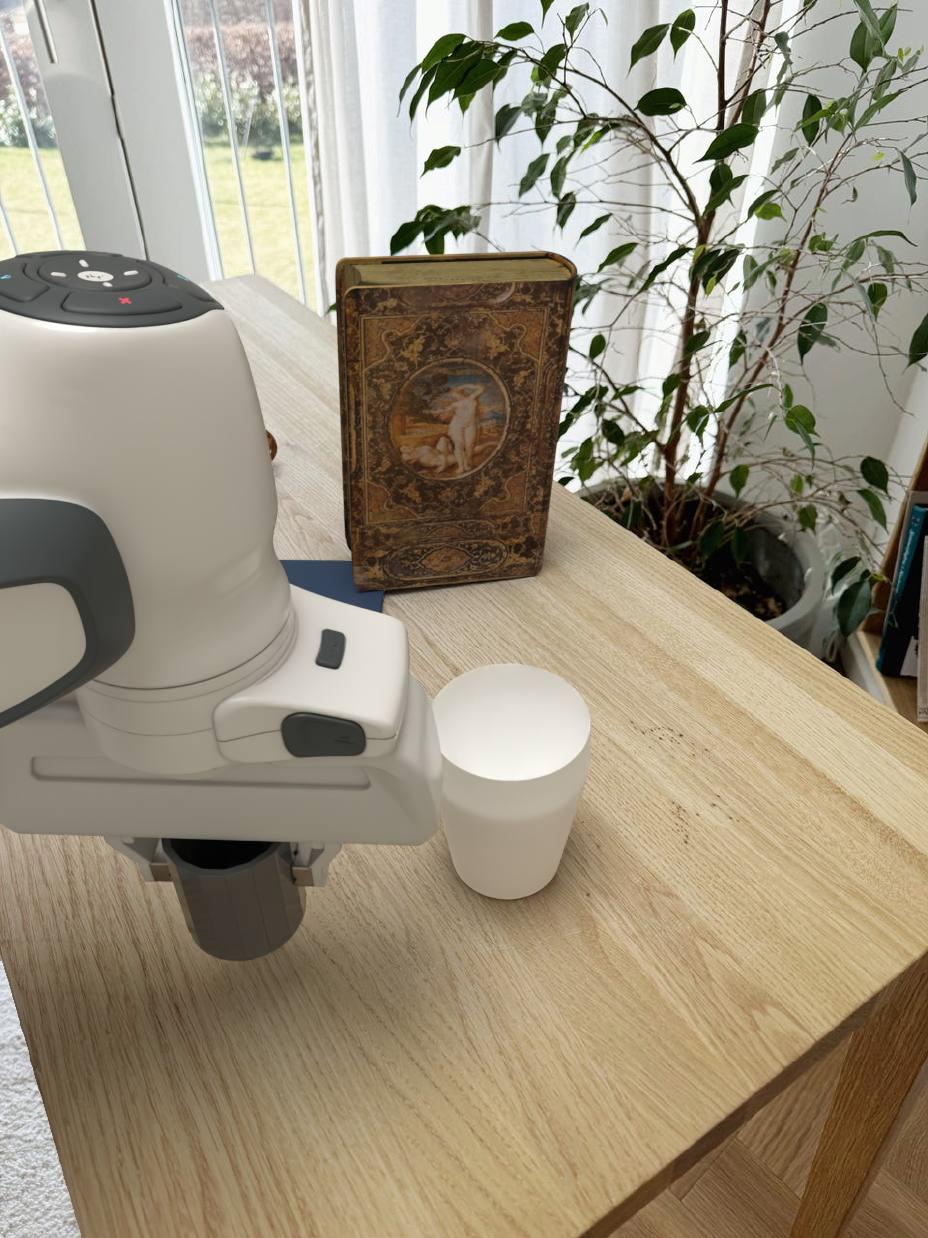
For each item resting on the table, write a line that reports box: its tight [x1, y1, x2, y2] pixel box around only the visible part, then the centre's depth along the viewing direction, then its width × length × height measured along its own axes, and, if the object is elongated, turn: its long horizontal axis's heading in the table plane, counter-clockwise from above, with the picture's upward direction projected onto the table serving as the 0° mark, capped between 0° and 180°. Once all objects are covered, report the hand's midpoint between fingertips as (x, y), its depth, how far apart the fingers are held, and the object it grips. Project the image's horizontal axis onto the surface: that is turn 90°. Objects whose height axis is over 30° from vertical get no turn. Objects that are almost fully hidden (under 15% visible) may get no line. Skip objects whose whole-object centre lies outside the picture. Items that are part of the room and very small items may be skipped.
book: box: [334, 250, 578, 591], centre depth 74 cm, size 16×6×25 cm, turn 102°
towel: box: [279, 559, 386, 613], centre depth 78 cm, size 22×10×1 cm, turn 88°
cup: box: [431, 663, 591, 900], centre depth 56 cm, size 9×9×12 cm
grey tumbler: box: [161, 838, 307, 962], centre depth 48 cm, size 6×6×7 cm
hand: (240, 873), depth 48 cm, fingers closed on grey tumbler, 6 cm apart
